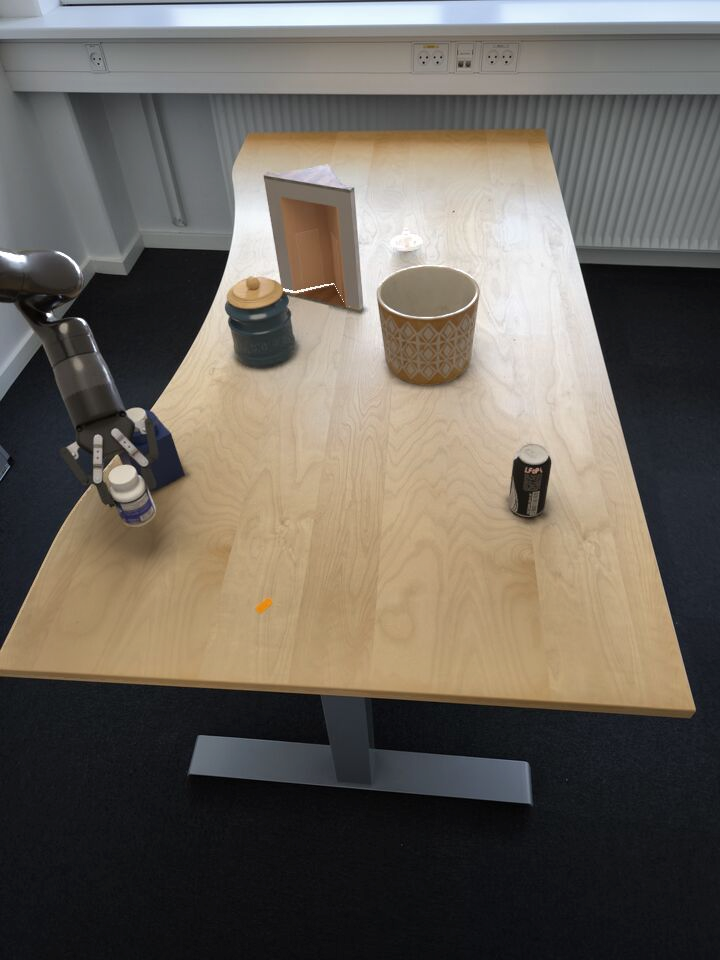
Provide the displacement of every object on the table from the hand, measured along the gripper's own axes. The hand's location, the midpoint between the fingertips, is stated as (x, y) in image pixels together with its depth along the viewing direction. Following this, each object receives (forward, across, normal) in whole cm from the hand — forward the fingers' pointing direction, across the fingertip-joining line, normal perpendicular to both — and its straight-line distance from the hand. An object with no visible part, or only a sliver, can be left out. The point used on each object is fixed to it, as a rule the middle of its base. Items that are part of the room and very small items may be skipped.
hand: (132, 499), depth 107 cm
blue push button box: (-4, +5, +24) cm, 25 cm away
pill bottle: (+3, 0, +5) cm, 6 cm away
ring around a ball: (-37, +83, +58) cm, 108 cm away
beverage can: (+24, +57, -4) cm, 62 cm away
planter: (-6, +63, +26) cm, 69 cm away
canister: (-21, +36, +42) cm, 59 cm away
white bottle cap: (-12, +5, +16) cm, 21 cm away
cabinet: (-31, +58, +52) cm, 84 cm away
